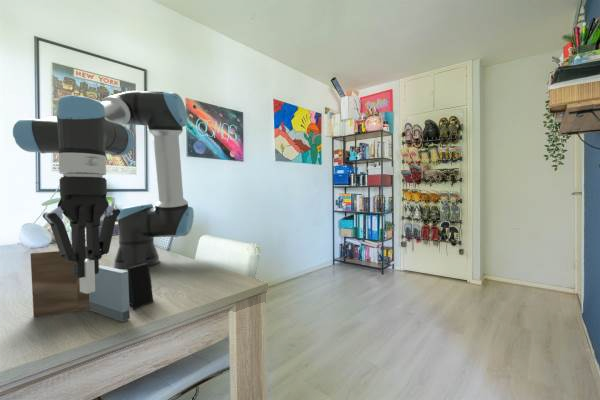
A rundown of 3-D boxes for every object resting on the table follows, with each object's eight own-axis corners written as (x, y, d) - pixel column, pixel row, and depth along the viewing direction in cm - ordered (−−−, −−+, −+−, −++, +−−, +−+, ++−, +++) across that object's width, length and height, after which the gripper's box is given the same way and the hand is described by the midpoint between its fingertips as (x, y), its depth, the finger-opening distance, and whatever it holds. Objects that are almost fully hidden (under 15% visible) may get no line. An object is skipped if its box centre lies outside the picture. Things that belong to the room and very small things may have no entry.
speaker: (158, 302, 72) (153, 262, 72) (133, 310, 68) (128, 268, 68) (149, 297, 78) (145, 260, 77) (125, 304, 74) (121, 265, 73)
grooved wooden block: (39, 312, 67) (35, 247, 66) (97, 304, 72) (95, 243, 71) (32, 318, 64) (28, 250, 63) (93, 309, 69) (91, 246, 68)
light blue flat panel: (89, 309, 68) (87, 265, 67) (96, 307, 69) (94, 263, 69) (122, 321, 62) (121, 273, 61) (129, 318, 63) (128, 271, 63)
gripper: (52, 174, 49) (57, 306, 49) (127, 177, 60) (130, 284, 61) (33, 175, 52) (37, 299, 53) (107, 178, 64) (110, 279, 64)
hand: (87, 291), depth 57 cm, fingers closed
